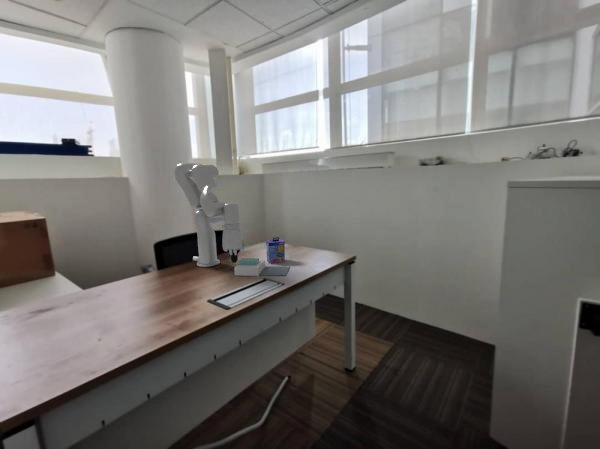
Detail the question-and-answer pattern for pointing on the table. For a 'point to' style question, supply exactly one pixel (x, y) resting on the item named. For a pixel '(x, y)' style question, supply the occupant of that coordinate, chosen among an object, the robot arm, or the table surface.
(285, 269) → the mat
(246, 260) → the teal tile
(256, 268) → the grey flat block
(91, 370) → the table surface
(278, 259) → the ink cartridge box
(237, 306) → the table surface
